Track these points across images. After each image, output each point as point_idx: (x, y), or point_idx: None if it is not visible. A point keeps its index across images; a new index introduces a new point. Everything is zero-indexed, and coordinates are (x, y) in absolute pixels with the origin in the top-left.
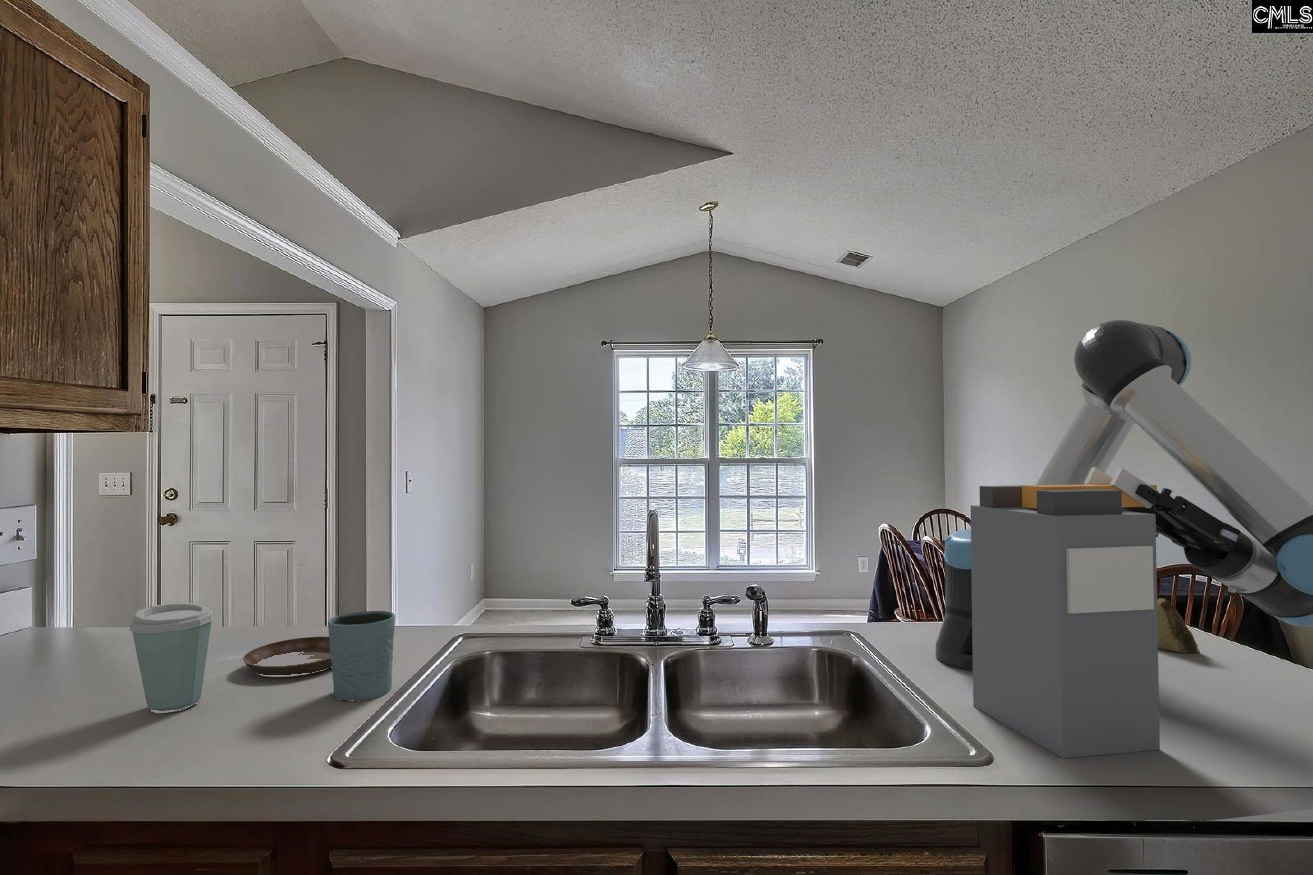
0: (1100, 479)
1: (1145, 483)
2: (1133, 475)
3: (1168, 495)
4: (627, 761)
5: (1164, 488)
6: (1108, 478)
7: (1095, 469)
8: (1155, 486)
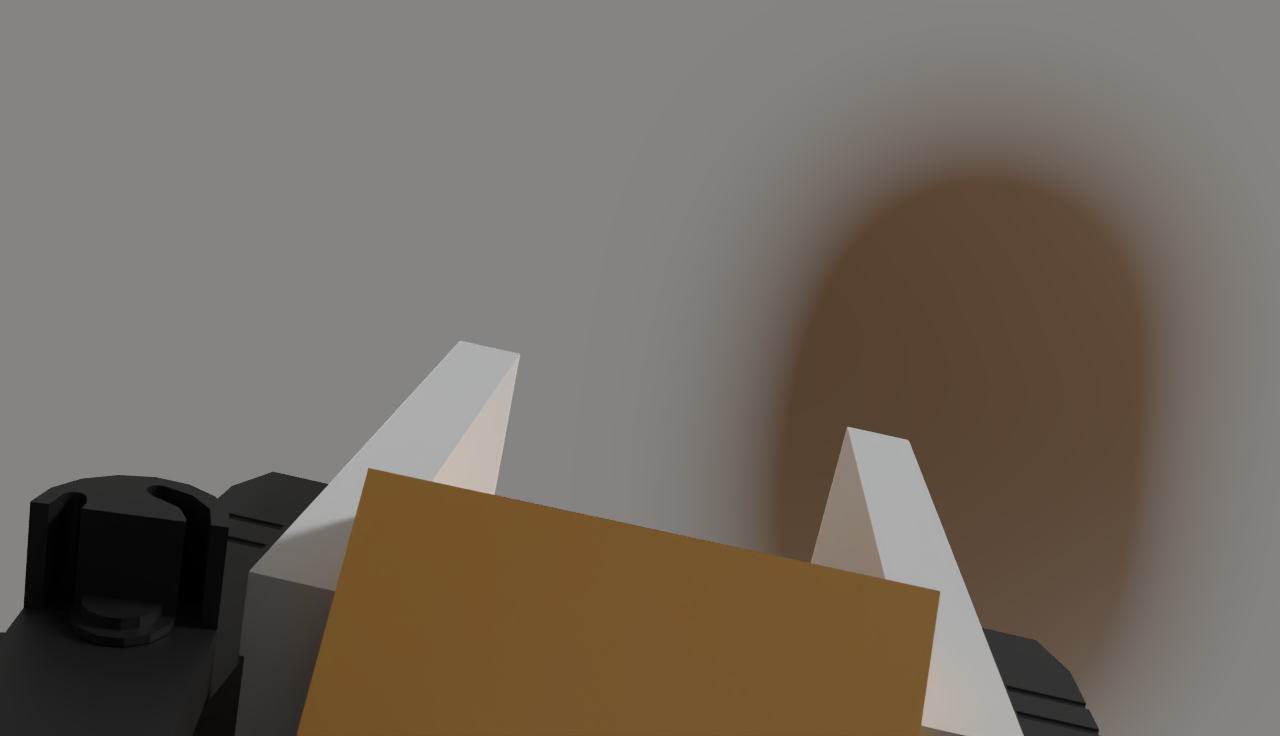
0: (829, 563)
1: (352, 466)
2: (419, 392)
3: (42, 607)
4: None
5: (173, 488)
6: (855, 539)
7: (845, 450)
8: (365, 499)
